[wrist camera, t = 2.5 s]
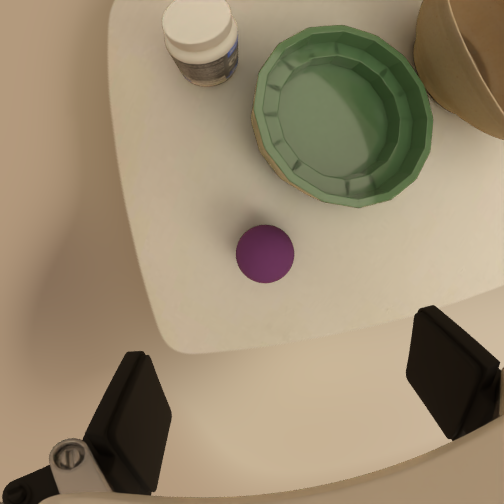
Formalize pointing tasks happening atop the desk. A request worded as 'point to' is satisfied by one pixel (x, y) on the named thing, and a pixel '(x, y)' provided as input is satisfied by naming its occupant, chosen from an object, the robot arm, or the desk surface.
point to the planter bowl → (464, 59)
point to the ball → (265, 253)
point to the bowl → (342, 116)
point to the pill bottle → (202, 40)
